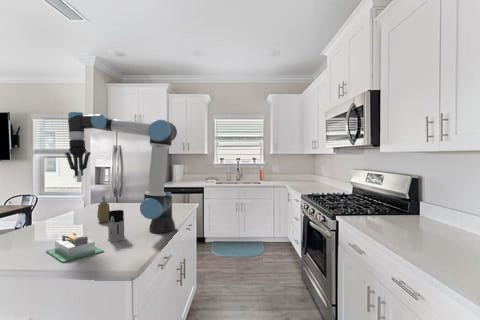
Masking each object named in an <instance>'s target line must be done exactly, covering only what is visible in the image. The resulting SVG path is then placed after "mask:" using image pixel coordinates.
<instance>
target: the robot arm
mask: <svg viewBox="0 0 480 320" xmlns="http://www.w3.org/2000/svg"><path fill="white" fill-rule="evenodd" d="M67 117H68V118H67V122H68V139H69V149H68V151H66V152H64V156H65V157H66V159H67V162H68V166H69V168H70V170H72V171H74V176H75V177H76V183H82V182H83V180H82V179H83V176H84V170H86V169H87V168H88V161H89V157H90V155H91V152H90V151H87V149H86V140H85V139H86V138H85V136H86V135H85V130H87V129H88V130H89V129H95V130H102V131H106V132H116V133H123V134H129V135H136V136H144V137H149V145H150V146H151V153H150V154H151V155H150V163H149V164H150V165H149V173H148V184H147V190H145V192H144V194H143V200H142V201H141V203H140V204H139V211H140V214H141V215H142V216H143V217H144V218H145V219H147V220H151V221H150V225H149V228H148V229H149V230H148V231H149V232H150V233H151V234H166V233H170V232H174V231H175V230H176V224H175V221H174V219H173V193H172V192H170V191H165V181H166V172H167V163H168V155H169V154H168V153H169V148H171V147H172V143H173V141H174V140H175V139H176V137H177V134H178V130H177V128H176V126H175V125H174V123H172V122H169V121H167V120H164V119H156V120H155V119H154V120H153V121H152V122H151V123H146V122H140V121H133V120H132V121H131V120H125V119H117V118H109V117H105V115H103V114H99V113H98V114H97V113H96V114H87V115H84V113H83V112H81V111H70V112H68V115H67ZM72 158H73V159H72Z"/></svg>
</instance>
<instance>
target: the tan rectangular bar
mask: <svg viewBox="0 0 480 320" xmlns="http://www.w3.org/2000/svg"><path fill="white" fill-rule="evenodd" d="M78 236H79V235H76V236H75V235H73V233H72V234H67V235H65V239H66V238H68V239H70V240H73V241H75V239H77V238H82V237H84V236H83V235H81V236H82V237H78Z"/></svg>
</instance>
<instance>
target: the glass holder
mask: <svg viewBox="0 0 480 320" xmlns="http://www.w3.org/2000/svg"><path fill="white" fill-rule="evenodd" d="M108 214H109V220H108V222H107V223H108V225H107V228H108V233H107V234H108V237H107V241H108V242H120V241H124V240H126V237H125V219H124V217H125V216H124V215H125V212H124V210H121V209H117V210H116V209H114V210H110V211H109V212H108Z"/></svg>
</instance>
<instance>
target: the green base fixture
mask: <svg viewBox="0 0 480 320" xmlns="http://www.w3.org/2000/svg"><path fill="white" fill-rule="evenodd" d="M72 234H73V235H75V236H78V237H82V236H83V235H77V233H75V232H73V233H72ZM65 236H66V235H65V234H64V235H61V239H57V240H56V239H55V240H54V248H51V249H47V250H45V252H46V253H47V254H49V255H50V256H51V255H52V256H51V257H53V258H54V259H56V260H57V261H59V262H61V263H62V264H64V263H68V262H71V261H72V262H73V261H75V260H80V259H83V258H87V257H90V256H94V255H98V254H102V253H105V250H103V249H101V248H99V247H97V246H95V245H96V242H95V241H93V240H92V239H89V238H88V236H83V237H82V238H77V239H75V241H73V240H70V239H68V238H65Z"/></svg>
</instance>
